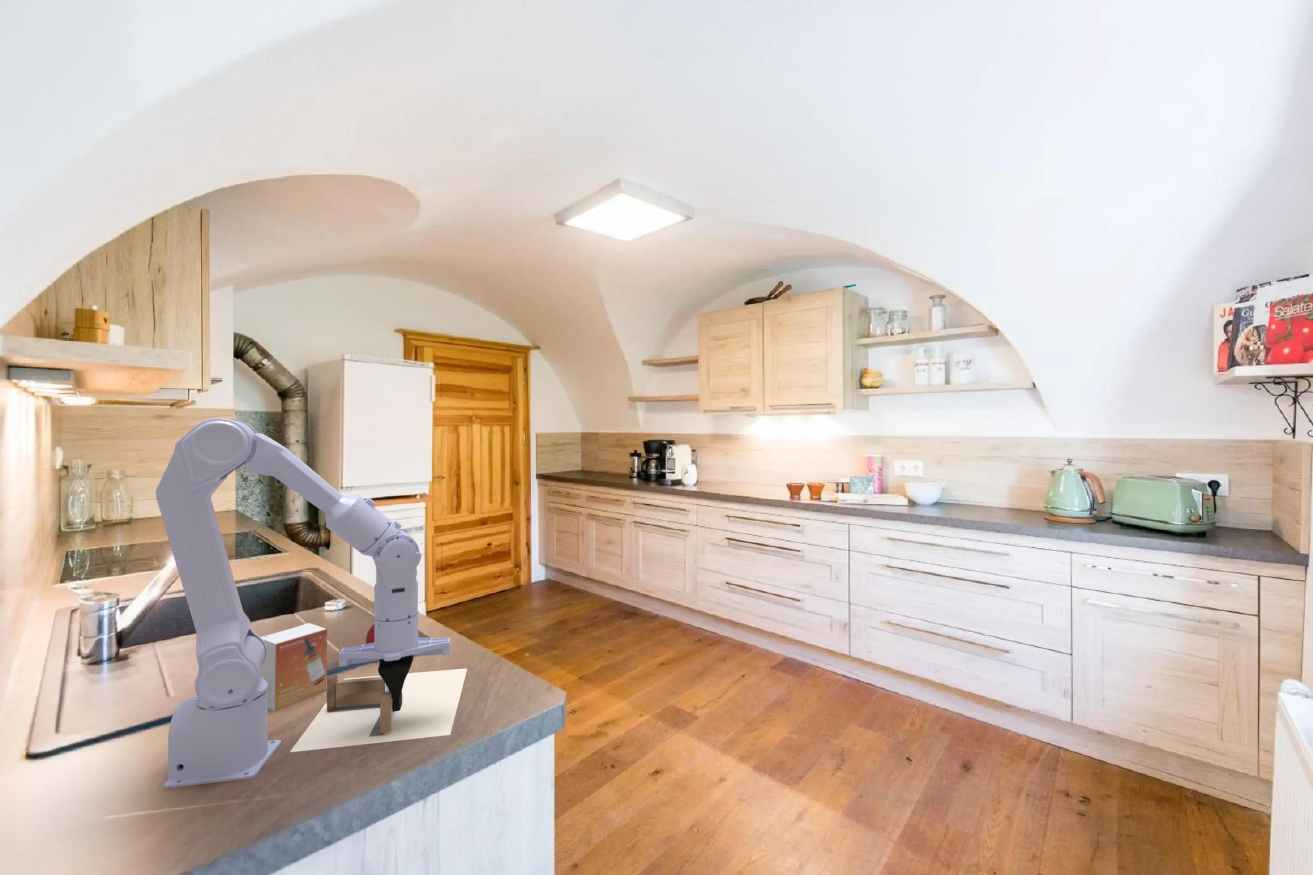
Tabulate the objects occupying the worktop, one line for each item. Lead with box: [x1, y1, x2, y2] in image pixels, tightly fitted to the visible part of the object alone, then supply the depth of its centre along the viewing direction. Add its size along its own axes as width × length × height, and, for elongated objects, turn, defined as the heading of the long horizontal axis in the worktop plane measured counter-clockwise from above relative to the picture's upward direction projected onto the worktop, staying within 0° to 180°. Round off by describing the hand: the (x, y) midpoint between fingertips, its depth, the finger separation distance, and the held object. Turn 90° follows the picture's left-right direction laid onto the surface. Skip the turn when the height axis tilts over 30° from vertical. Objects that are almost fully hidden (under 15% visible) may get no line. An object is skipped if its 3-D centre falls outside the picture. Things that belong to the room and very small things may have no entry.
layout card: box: [289, 667, 468, 753], centre depth 85 cm, size 20×22×1 cm
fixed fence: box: [326, 674, 385, 712], centre depth 84 cm, size 10×2×6 cm, turn 103°
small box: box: [260, 622, 328, 712], centre depth 88 cm, size 8×6×10 cm
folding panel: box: [380, 686, 393, 733], centre depth 80 cm, size 8×1×5 cm, turn 21°
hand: (397, 707), depth 80 cm, fingers closed
